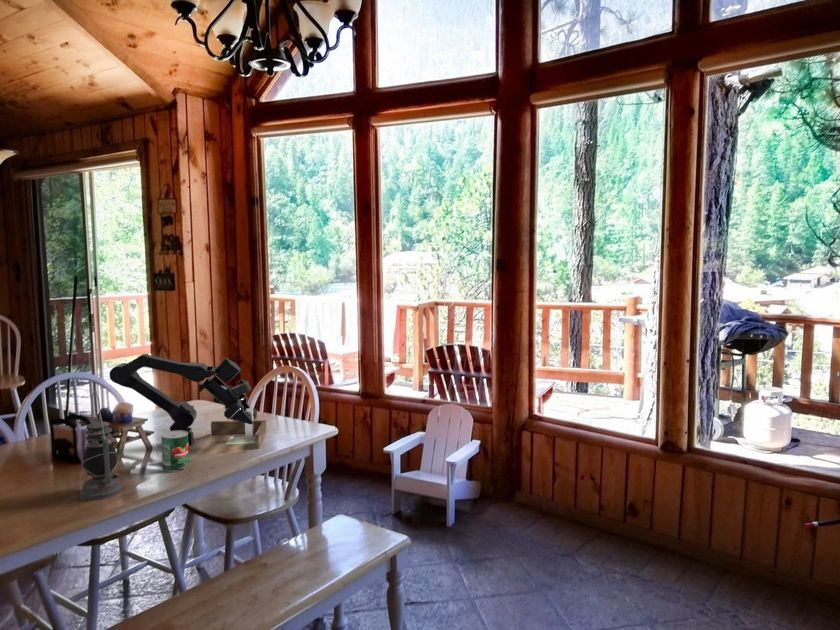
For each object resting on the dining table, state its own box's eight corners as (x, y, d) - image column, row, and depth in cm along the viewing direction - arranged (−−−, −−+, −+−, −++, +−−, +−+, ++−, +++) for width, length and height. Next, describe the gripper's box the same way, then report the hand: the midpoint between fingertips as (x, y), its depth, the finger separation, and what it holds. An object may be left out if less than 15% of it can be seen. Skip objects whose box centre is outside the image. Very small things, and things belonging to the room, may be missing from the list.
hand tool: (235, 431, 219) (235, 420, 219) (226, 430, 220) (226, 419, 220) (262, 418, 237) (262, 407, 237) (254, 417, 238) (254, 406, 238)
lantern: (129, 493, 162) (125, 390, 159) (88, 504, 154) (83, 396, 151) (113, 481, 170) (108, 382, 167) (73, 491, 162) (67, 389, 159)
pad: (225, 444, 201) (225, 443, 201) (230, 437, 209) (230, 436, 209) (254, 443, 202) (254, 443, 202) (258, 436, 210) (258, 436, 210)
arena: (196, 456, 191) (196, 439, 190) (212, 436, 212) (211, 421, 211) (257, 455, 193) (256, 438, 193) (266, 435, 214) (266, 420, 213)
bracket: (253, 437, 208) (253, 408, 207) (252, 441, 203) (252, 411, 202) (234, 438, 207) (233, 409, 205) (232, 442, 202) (232, 412, 201)
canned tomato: (169, 462, 186) (168, 429, 184) (193, 463, 186) (192, 430, 184) (157, 471, 178) (156, 437, 177) (182, 472, 178) (181, 438, 176)
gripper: (233, 380, 193) (267, 410, 196) (239, 369, 211) (270, 397, 215) (209, 403, 192) (244, 433, 196) (217, 390, 210) (249, 418, 214)
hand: (253, 419), depth 205 cm, fingers open, 9 cm apart
